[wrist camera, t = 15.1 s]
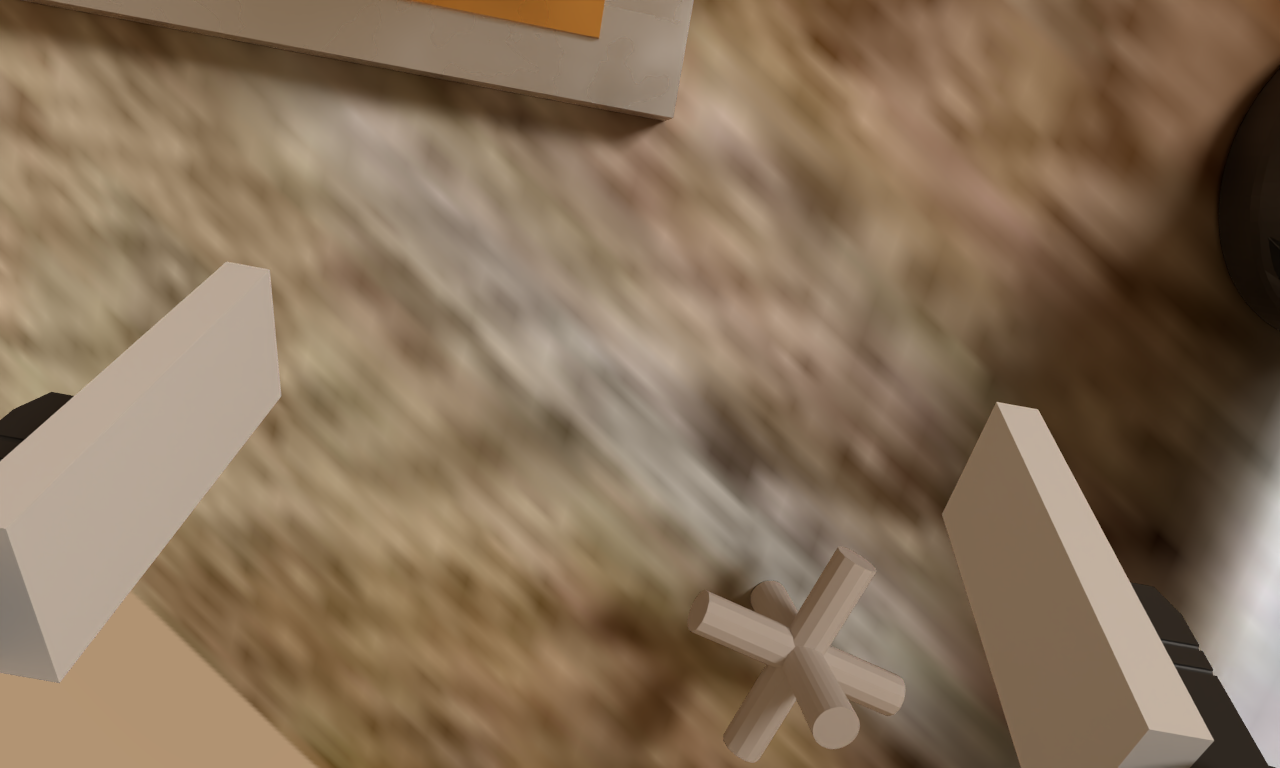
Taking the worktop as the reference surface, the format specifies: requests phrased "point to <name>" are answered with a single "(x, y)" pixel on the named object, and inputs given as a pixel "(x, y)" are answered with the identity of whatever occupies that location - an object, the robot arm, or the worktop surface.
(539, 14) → the rail
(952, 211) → the worktop surface
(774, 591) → the pipe connector
